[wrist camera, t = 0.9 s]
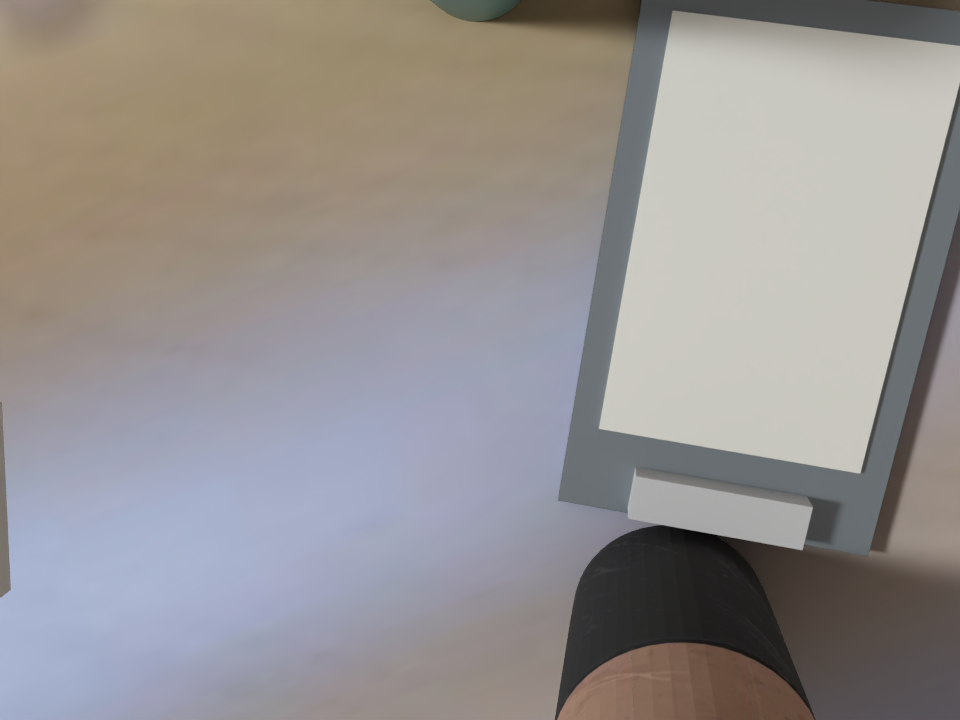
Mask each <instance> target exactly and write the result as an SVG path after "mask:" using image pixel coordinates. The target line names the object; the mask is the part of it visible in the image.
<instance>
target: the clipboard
mask: <svg viewBox="0 0 960 720" xmlns="http://www.w3.org/2000/svg"><path fill="white" fill-rule="evenodd" d="M959 209H960V11H954V10H946V9H937V8H929V7H921V6H912V5H904V4H896V3H887V2H879V1H870V0H642V2H641V8H640V14H639V20H638V26H637V32H636V38H635V44H634V50H633V56H632V62H631V68H630V74H629V80H628V86H627V92H626V97H625V103H624V109H623V115H622V121H621V127H620V133H619V139H618V145H617V151H616V157H615V163H614V169H613V175H612V181H611V187H610V193H609V199H608V205H607V211H606V217H605V223H604V229H603V235H602V241H601V247H600V253H599V259H598V265H597V271H596V277H595V283H594V288H593V294H592V300H591V306H590V312H589V318H588V324H587V330H586V336H585V342H584V348H583V354H582V360H581V366H580V372H579V378H578V384H577V390H576V396H575V402H574V408H573V414H572V420H571V426H570V432H569V438H568V444H567V450H566V456H565V462H564V468H563V474H562V479H561V485H560V491H559V498H558V500H559V501H564V502H570V503H575V504H581V505H586V506H592V507H597V508H603V509H608V510H614V511H620V512H625V513H628V519H632V520H638V521H643V522H649V523H654V524H660V525H665V526H671V527H676V528H682V529H687V530H693V531H699V532H704V533H710V534H715V535H721V536H726V537H732V538H737V539H743V540H748V541H754V542H759V543H765V544H770V545H776V546H781V547H787V548H792V549H798V550H803V546H804V545H808V546H814V547H819V548H825V549H830V550H836V551H841V552H847V553H852V554H858V555H864V556H868V554H869V551H870V547H871V543H872V539H873V535H874V532H875V528H876V524H877V520H878V516H879V513H880V509H881V505H882V501H883V497H884V494H885V490H886V486H887V482H888V478H889V475H890V471H891V467H892V463H893V460H894V456H895V452H896V448H897V444H898V441H899V437H900V433H901V429H902V425H903V422H904V418H905V414H906V410H907V406H908V403H909V399H910V395H911V391H912V387H913V384H914V380H915V376H916V372H917V369H918V365H919V361H920V357H921V353H922V350H923V346H924V342H925V338H926V334H927V331H928V327H929V323H930V319H931V315H932V312H933V308H934V304H935V300H936V297H937V293H938V289H939V285H940V281H941V278H942V274H943V270H944V266H945V262H946V259H947V255H948V251H949V247H950V243H951V240H952V236H953V232H954V228H955V224H956V221H957V217H958V213H959Z"/></svg>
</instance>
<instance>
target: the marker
mask: <svg viewBox="0 0 960 720" xmlns="http://www.w3.org/2000/svg"><path fill="white" fill-rule="evenodd" d="M430 1H432V2H433V3H434V4H436V5H437V6H438V7H439V8H441V9H442V10H444V11H445V12H446V13H448V14H450V15H452V16H454V17H456V18H459V19H462V20H467V21H476V22H478V21H487V20H491V19H495V18H497V17H500V16H502V15H504V14H506V13H508V12H509V11H510V10H512V9H513V8H514V7H515V6H517V5H518V4H519V3H520V2H521V0H430Z"/></svg>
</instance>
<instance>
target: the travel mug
mask: <svg viewBox="0 0 960 720" xmlns="http://www.w3.org/2000/svg"><path fill="white" fill-rule="evenodd" d="M555 720H815V717H814V714H813V712H812V709H811V707H810V704H809V702H808V699H807V697H806V694H805V692H804V689H803V687H802V684H801V682H800V679H799V677H798V674H797V672H796V669H795V667H794V664H793V662H792V659H791V657H790V654H789V652H788V649H787V646H786V644H785V641H784V639H783V636H782V634H781V631H780V629H779V626H778V624H777V621H776V619H775V616H774V614H773V611H772V609H771V606H770V604H769V601H768V599H767V597H766V594H765V592H764V590H763V587H762V585H761V584H760V582H759V580H758V578H757V576H756V574H755V572H754V571H753V569H752V568H751V567H750V565H749V564H748V562H747V561H746V560H745V559H744V558H743V557H742V556H741V555H740V554H739V553H738V552H737V551H735V550H734V549H733V548H732V547H731V546H729V545H728V544H726V543H725V542H723V541H722V540H720V539H718V538H717V537H714V536H712V535H710V534H708V533H704V532H699V531H693V530H687V529H682V528H676V527H671V526H653V527H647V528H642V529H639V530H635V531H632V532H630V533H627V534H625V535H623V536H621V537H619V538H617V539H616V540H614V541H612V542H611V543H609V544H608V545H607V546H606V547H604V548H603V549H602V550H601V551H600V552H599V553H598V554H597V555H596V556H595V557H594V558H593V559H592V561H591V562H590V563H589V565H588V566H587V568H586V569H585V571H584V573H583V575H582V577H581V579H580V581H579V584H578V587H577V590H576V594H575V599H574V604H573V609H572V615H571V620H570V627H569V633H568V639H567V646H566V652H565V659H564V665H563V671H562V678H561V684H560V690H559V697H558V703H557V710H556V716H555Z"/></svg>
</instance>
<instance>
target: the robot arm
mask: <svg viewBox="0 0 960 720" xmlns="http://www.w3.org/2000/svg"><path fill="white" fill-rule="evenodd" d="M10 590H11V587H10V565H9V544H8V522H7V501H6V479H5V458H4V436H3V415H2V402H0V598H1V597H2V596H3V595H4V594H6V593H7V592H8V591H10Z"/></svg>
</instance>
